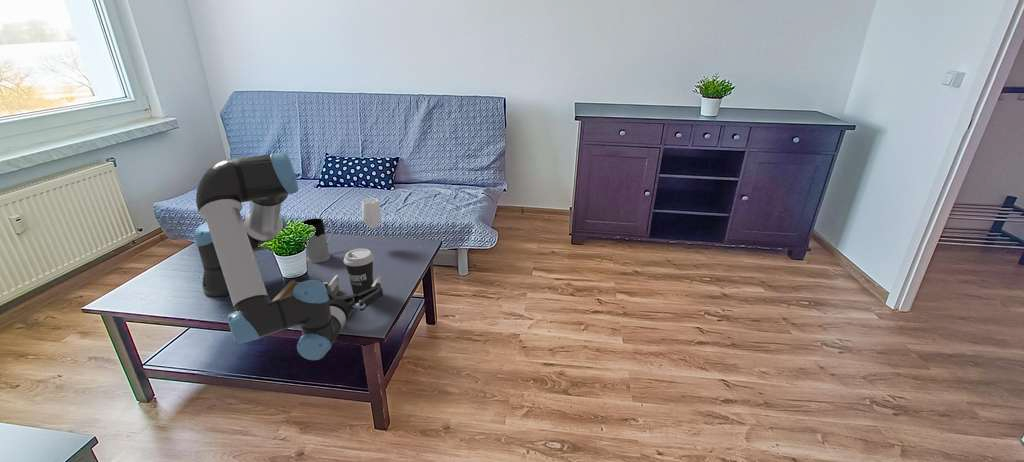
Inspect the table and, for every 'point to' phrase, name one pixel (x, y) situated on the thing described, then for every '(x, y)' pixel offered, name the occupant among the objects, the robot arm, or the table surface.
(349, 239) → the table surface
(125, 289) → the table surface
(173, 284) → the table surface
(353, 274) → the coffee cup
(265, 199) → the robot arm
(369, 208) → the cup
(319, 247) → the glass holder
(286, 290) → the tray
